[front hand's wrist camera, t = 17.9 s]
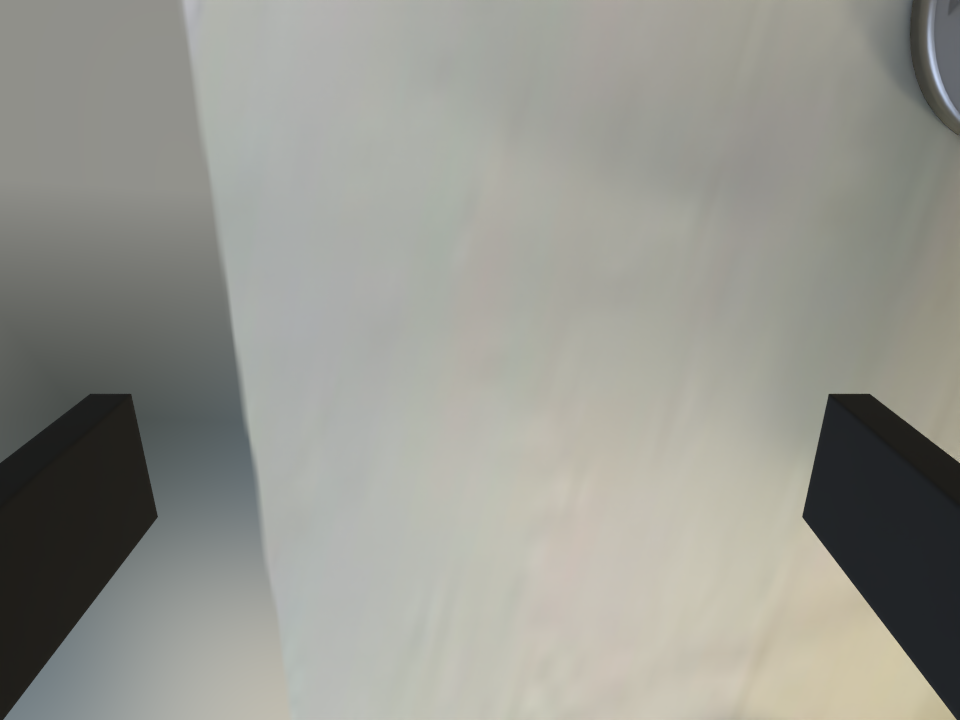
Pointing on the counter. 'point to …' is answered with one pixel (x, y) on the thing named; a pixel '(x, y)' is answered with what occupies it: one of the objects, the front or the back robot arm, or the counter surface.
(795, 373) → the counter surface
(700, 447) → the counter surface
